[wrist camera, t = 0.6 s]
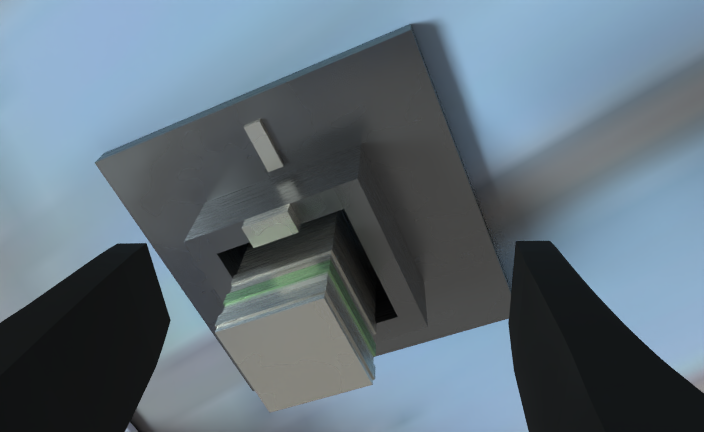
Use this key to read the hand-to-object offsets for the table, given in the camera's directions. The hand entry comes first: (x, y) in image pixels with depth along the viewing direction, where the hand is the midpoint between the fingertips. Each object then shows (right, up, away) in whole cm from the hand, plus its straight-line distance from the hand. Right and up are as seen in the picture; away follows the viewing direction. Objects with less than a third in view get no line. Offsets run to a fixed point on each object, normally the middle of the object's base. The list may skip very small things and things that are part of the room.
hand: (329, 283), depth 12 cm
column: (-1, +1, +12) cm, 12 cm away
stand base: (-1, +1, +12) cm, 12 cm away
